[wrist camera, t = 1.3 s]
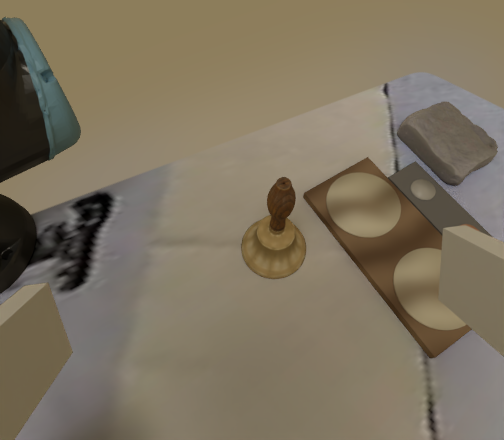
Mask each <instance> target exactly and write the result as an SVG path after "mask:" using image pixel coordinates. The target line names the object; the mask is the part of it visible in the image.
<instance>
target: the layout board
mask: <svg viewBox="0 0 504 440" xmlns="http://www.w3.org/2000/svg"><path fill="white" fill-rule="evenodd" d="M303 198H304V199H305V200H306V201H307V203H308V204H309V205H310V206H311V208H312V209H313V210H314V212H315V213H316V214H317V215H318V217H319V218H320V219H321V220H322V222H323V223H324V224H325V226H326V227H327V228H328V229H329V231H330V232H331V233H332V234H333V236H334V237H335V238H336V239H337V241H338V242H339V243H340V245H341V246H342V247H343V248H344V250H345V251H346V252H347V253H348V255H349V256H350V257H351V259H352V260H353V261H354V262H355V264H356V265H357V266H358V267H359V269H360V270H361V271H362V273H363V274H364V275H365V276H366V278H367V279H368V280H369V281H370V283H371V284H372V285H373V286H374V288H375V289H376V290H377V292H378V293H379V294H380V295H381V297H382V298H383V299H384V300H385V302H386V303H387V304H388V306H389V307H390V308H391V309H392V311H393V312H394V313H395V314H396V316H397V317H398V318H399V320H400V321H401V322H402V323H403V325H404V326H405V327H406V328H407V330H408V331H409V332H410V333H411V335H412V336H413V337H414V339H415V340H416V341H417V342H418V344H419V345H420V346H421V347H422V349H423V350H424V351H425V353H426V354H427V355H428V356H429V358H435V357H437V356H438V355H439V354H440V353H442V352H443V351H444V350H446V349H447V348H448V347H449V346H451V345H452V344H453V343H455V342H456V341H457V340H458V339H460V338H461V337H462V336H464V335H465V334H466V333H467V332H469V331H470V330H471V328H470V327H469V326H468V325H467V324H466V323H465V322H463V321H462V320H461V319H460V318H459V317H458V316H456V315H455V314H454V313H453V312H452V311H451V310H450V309H448V308H447V307H446V306H445V305H444V304H443V303H442V302H440V301H439V300H438V296H439V281H440V266H441V251H442V235H441V234H440V233H439V232H438V231H437V230H436V229H435V228H434V227H433V225H432V224H431V223H430V222H429V221H428V220H427V219H426V218H425V217H424V216H423V215H422V214H421V213H420V212H419V211H418V210H417V209H416V208H415V207H414V205H413V204H412V203H411V202H410V201H409V200H408V199H407V198H406V197H405V196H404V195H403V194H402V193H401V192H400V191H399V190H398V189H397V188H396V186H395V185H394V184H393V183H392V182H391V181H390V180H389V179H388V178H387V177H386V176H385V175H384V174H383V173H382V172H381V171H380V170H379V169H378V167H377V166H376V165H375V164H374V163H373V162H372V161H371V160H370V159H369V158H368V157H367V158H365V159H364V160H362V161H360V162H358V163H357V164H355V165H353V166H351V167H349V168H348V169H346V170H344V171H342V172H341V173H339V174H337V175H335V176H333V177H332V178H330V179H328V180H326V181H325V182H323V183H321V184H319V185H318V186H316V187H314V188H312V189H310V190H309V191H307V192H305V193H304V196H303Z"/></svg>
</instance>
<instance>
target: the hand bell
mask: <svg viewBox="0 0 504 440" xmlns="http://www.w3.org/2000/svg"><path fill="white" fill-rule="evenodd" d="M295 199H296V198H295V191H294V189H293V187H292V184H291V181H290V180H289V179H288V178H286V177H282V178H279V179H278V180H277V182H276V183H275V184H274V185H273V187H272V188H271V189H270V191H269V194H268V198H267V206H268V210H269V213H270V214H271V215H269V216H267V217H265V218H264V219H262V220H260V221H258V222H256V223H254V224H253V225H252V226H251V227H250V228H249V229H248V230H247V231H246V233H245V235H244V237H243V240H242V245H241V250H242V255H243V258H244V261H245V262H246V264H247V265H248V267H249V268H250V269H251V270H252V271H253V272H255V273H256V274H258V275H260V276H262V277H265V278H271V279H279V278H284V277H287V276H289V275H291V274H293V273H294V272H295V271H296V270H298V268H299V267H300V266H301V265H302V263H303V261H304V258H305V254H306V243H305V240H304V237H303V235H302V233H301V232H300V231H299V229H298V228H297V227H296V226H295V225H293V224H292V222H291V221H290V220H289V219H288V218H287V217H288V216H289V215H290V213H291V212H292V210H293V208H294V205H295Z"/></svg>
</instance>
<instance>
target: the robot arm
mask: <svg viewBox="0 0 504 440" xmlns="http://www.w3.org/2000/svg"><path fill="white" fill-rule="evenodd" d="M80 133H81V130H80V126H79V123H78V121H77V118H76V116H75V114H74V112H73V110H72V108H71V106H70V104H69V102H68V100H67V98H66V96H65V94H64V92H63V90H62V88H61V87H60V85H59V83H58V81H57V79H56V78H55V77H54V75H53V72H52V70H51V68H50V66H49V65H48V62H47V60H46V58H45V57H44V55H43V53H42V51H41V49H40V48H39V46H38V44H37V42H36V41H35V39H34V37H33V35H32V34H31V32H30V30H29V29H28V27H27V26H26V24H25V23H24V22H23V21H22V20H21V19H19V18H6V17H4V18H3V19H2V20H0V183H1V182H3V181H5V180H7V179H9V178H11V177H13V176H15V175H17V174H20V173H22V172H24V171H26V170H28V169H30V168H32V167H35V166H37V165H39V164H41V163H43V162H45V161H47V160H51V159H53V158H54V156H55V155H57V154H59V153H60V152H62V151H64V150H66V149H67V148H69V147H71V146H72V145H74V144H75V143H76V142H77V140H78V139H79V138H80ZM35 242H36V228H35V224H34V221H33V219H32V217H31V215H30V214H29V212H28V211H27V210H26V209H25V208H23V207H22V206H20V205H19V204H18V203H16V202H15V201H14V200H12V199H10V198H8V197H6V196H4V195H1V194H0V293H1V292H3V291H4V290H5V289H7V288H8V287H9V286H10V285H11V284H12V283H13V282H14V281H15V280H16V279H17V278H18V277H19V276H20V274H21V273H22V272H23V270H24V269H25V267H26V266H27V264H28V262H29V260H30V258H31V256H32V254H33V251H34V247H35ZM438 300H439V301H440V302H442V303H443V304H444V305H445V306H446V307H447V308H448V309H450V310H451V311H452V312H453V313H454V314H455V315H456V316H458V317H459V318H460V319H461V320H462V321H463V322H465V323H466V324H467V325H468V326H469V327H470V328H471V329H473V330H474V331H475V332H476V333H477V334H478V335H479V336H481V337H482V338H483V339H484V340H485V341H486V342H487V343H489V344H490V345H491V346H492V347H493V348H494V349H496V350H497V351H498V352H499V353H500V354H501V355H502V356H504V242H501V241H499V240H497V239H495V238H493V237H491V236H488V235H486V234H484V233H482V232H480V231H477V230H475V229H473V228H471V227H469V226H466V225H462V226H454V227H447V228H443V235H442V251H441V266H440V281H439V296H438ZM72 353H73V351H72V349H71V346H70V343H69V340H68V337H67V334H66V332H65V329H64V326H63V323H62V320H61V318H60V315H59V312H58V309H57V306H56V303H55V301H54V298H53V295H52V292H51V289H50V287H49V284H48V283H41V284H34V285H27V286H23V287H22V288H21V289H20V290H19V291H17V292H16V293H15V294H14V295H12V296H11V297H10V298H9V299H8V300H6V301H5V302H4V303H3V304H1V305H0V440H14V439H15V438H16V436H17V435H18V433H19V432H20V430H21V429H22V427H23V426H24V424H25V423H26V421H27V420H28V418H29V417H30V415H31V414H32V412H33V411H34V409H35V408H36V406H37V405H38V403H39V402H40V400H41V399H42V397H43V396H44V394H45V393H46V391H47V390H48V388H49V387H50V385H51V384H52V382H53V381H54V380H55V378H56V377H57V375H58V374H59V372H60V371H61V369H62V368H63V366H64V365H65V363H66V362H67V360H68V359H69V357H70V356H71V354H72Z"/></svg>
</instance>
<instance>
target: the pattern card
mask: <svg viewBox="0 0 504 440" xmlns="http://www.w3.org/2000/svg"><path fill="white" fill-rule="evenodd" d="M388 179H389V180H390V181H391V182H392V183H393V184H394V185H395V186H396V188H397V189H398V190H399V191H400V192H401V193H402V194H403V195H404V196H405V197H406V198H407V199H408V200H409V201H410V202H411V203H412V204H413V205H414V207H415V208H416V209H417V210H418V211H419V212H420V213H421V214H422V215H423V216H424V217H425V218H426V219H427V220H428V221H429V222H430V223H431V224H432V225H433V227H434V228H435V229H436V230H437V231H438V232H439V233H440V234H441V235H443V228H447V227H454V226H462V225H466V226H469V227H471V228H473V229H475V230H477V231H480V232H482V233H484V234H486V235H488V236H491V235H490V234H489V233H488V232H487V231H486V230H485V229H484V228H483V227H482V226H481V225H480V224H479V223H478V222H477V221H476V220H475V219H474V218H473V217H472V216H471V215H470V214H469V213H468V212H467V211H466V210H464V209H463V208H462V207H461V206H460V205H459V204H458V203H457V202H456V201H455V200H454V199H453V198H452V197H451V196H450V195H449V194H448V193H447V192H446V191H445V190H444V189H443V188H442V187H441V186H440V185H439V184H438V183H437V182H436V181H435V180H434V179H433V178H432V177H431V176H430V175H429V174H428V173H427V172H426V171H425V170H424V169H423V168H422V167H421V166H420V165H419V164H418V163H417V162H416V161H415V162H414V163H412V164H410V165H409V166H407V167H405V168H403V169H402V170H400V171H398V172H397V173H395V174H393V175H392V176H390V177H388ZM491 237H492V236H491Z"/></svg>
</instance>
